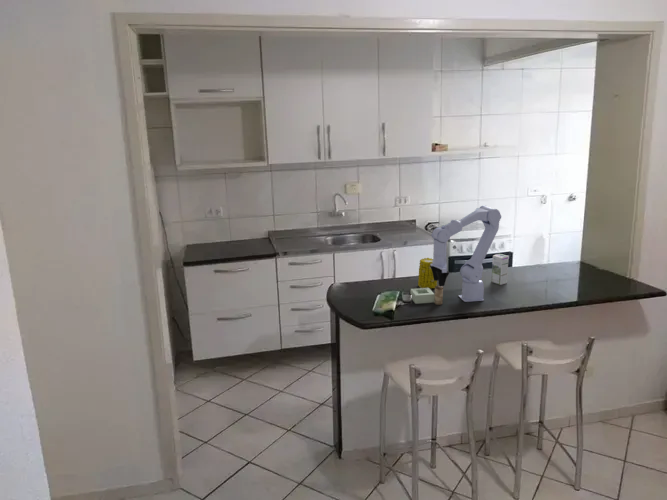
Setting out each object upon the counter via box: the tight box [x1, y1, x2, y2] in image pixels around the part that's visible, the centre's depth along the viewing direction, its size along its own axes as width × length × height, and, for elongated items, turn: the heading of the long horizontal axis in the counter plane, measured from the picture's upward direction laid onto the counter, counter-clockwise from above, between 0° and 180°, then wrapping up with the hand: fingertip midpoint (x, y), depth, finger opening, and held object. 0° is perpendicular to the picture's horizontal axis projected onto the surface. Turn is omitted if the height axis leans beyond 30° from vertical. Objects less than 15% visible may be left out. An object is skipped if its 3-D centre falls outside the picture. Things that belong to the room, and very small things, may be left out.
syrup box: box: [490, 253, 510, 286], centre depth 267 cm, size 6×6×14 cm
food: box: [417, 257, 438, 290], centre depth 264 cm, size 15×12×10 cm
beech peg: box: [434, 285, 444, 306], centre depth 243 cm, size 4×4×8 cm
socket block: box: [409, 287, 435, 305], centre depth 248 cm, size 9×9×4 cm
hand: (438, 283), depth 241 cm, fingers open, 7 cm apart
